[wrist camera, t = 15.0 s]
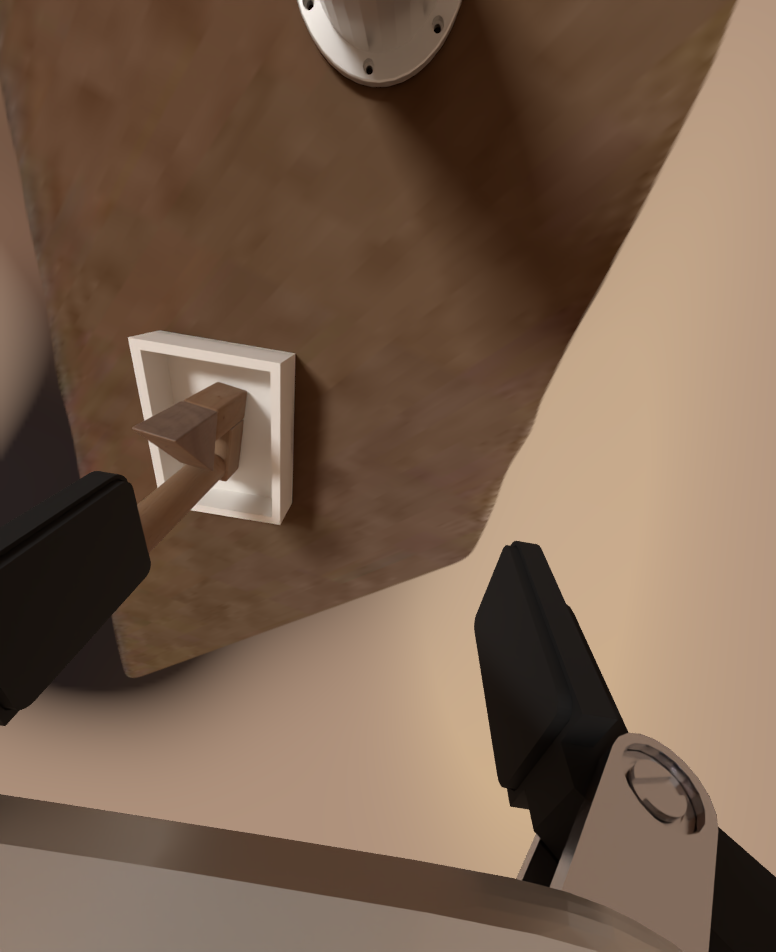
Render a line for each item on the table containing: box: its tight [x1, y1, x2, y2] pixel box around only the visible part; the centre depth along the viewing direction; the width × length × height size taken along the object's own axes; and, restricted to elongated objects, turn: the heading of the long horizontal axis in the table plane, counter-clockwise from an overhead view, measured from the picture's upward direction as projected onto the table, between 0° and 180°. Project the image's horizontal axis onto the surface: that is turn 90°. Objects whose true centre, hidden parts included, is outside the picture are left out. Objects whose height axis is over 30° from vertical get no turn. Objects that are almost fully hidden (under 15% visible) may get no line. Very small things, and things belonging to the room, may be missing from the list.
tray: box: [128, 331, 295, 525], centre depth 42 cm, size 20×15×5 cm
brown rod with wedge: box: [132, 382, 247, 553], centre depth 36 cm, size 4×11×18 cm, turn 162°
